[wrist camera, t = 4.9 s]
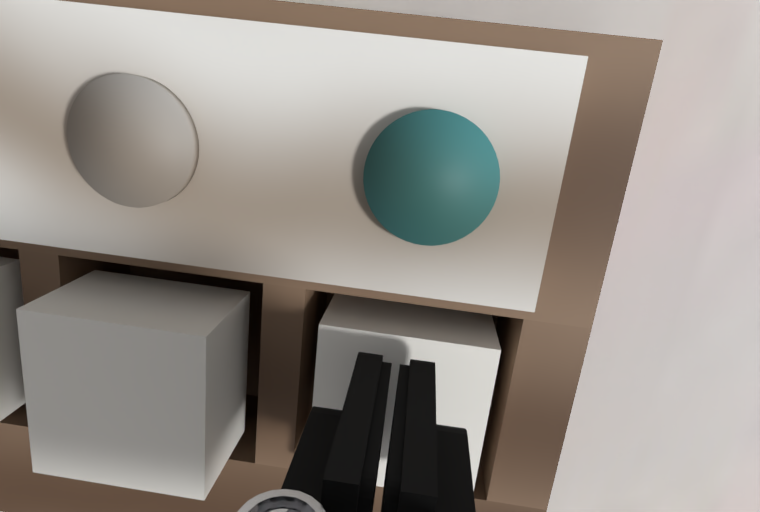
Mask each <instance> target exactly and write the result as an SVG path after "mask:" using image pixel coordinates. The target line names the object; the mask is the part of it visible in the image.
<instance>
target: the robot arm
mask: <svg viewBox="0 0 760 512" xmlns="http://www.w3.org/2000/svg"><path fill="white" fill-rule="evenodd" d="M391 367H392V363H388V362H383V355H379V354H372V353H364V352H358V355H357V359H356V363H355V366H354V370H353V373H352V377H351V380H350V384H349V388H348V391H347V395H346V398H345V402H344V406H343V409H342V410H337V409H330V408H323V407H316V406H313V407H312V409H311V411H310V414H309V416H308V419H307V422H306V424H305V427H304V429H303V432H302V435H301V437H300V440H299V443H298V445H297V448H296V451H295V453H294V456H293V458H292V461H291V464H290V466H289V469H288V472H287V474H286V477H285V480H284V482H283V485H282V488H281V489H279V490H271V491H267V492H264V493H261V494H258V495H257V496H255V497H253V498H252V499H250V500H248V501H247V502H246V503H245V504H244V505H243V506H242V507H241V508H240V509H239V510H238V512H373V505H374V498H375V490H376V483H377V476H378V468H379V461H380V453H381V445H382V437H383V429H384V421H385V414H386V406H387V398H388V390H389V382H390V375H391ZM381 512H476V509H475V500H474V491H473V481H472V472H471V463H470V454H469V444H468V435H467V430H466V429H465V428H459V427H452V426H445V425H438V424H436V373H435V362H428V361H421V360H414V359H410V364H409V365H402V364H400V367H399V374H398V382H397V389H396V397H395V404H394V412H393V419H392V427H391V434H390V442H389V449H388V457H387V464H386V472H385V480H384V488H383V496H382V505H381Z"/></svg>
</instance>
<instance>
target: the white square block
mask: <svg viewBox="0 0 760 512" xmlns="http://www.w3.org/2000/svg"><path fill="white" fill-rule="evenodd" d="M358 352H364V353H372V354H379V355H383V362H388V363H392V367H391V375H390V382H389V390H388V398H387V406H386V414H385V421H384V429H383V437H382V445H381V453H380V461H379V468H378V476H377V483H376V486H379V487H384V480H385V472H386V464H387V457H388V449H389V442H390V434H391V427H392V419H393V412H394V404H395V397H396V389H397V382H398V374H399V367H400V364H402V365H409V364H410V359H414V360H421V361H428V362H435V373H436V424H438V425H445V426H452V427H459V428H465V429H466V430H467V435H468V444H469V454H470V463H471V472H472V481H473V491H474V488H475V482H476V477H477V472H478V467H479V462H480V457H481V452H482V447H483V441H484V436H485V431H486V426H487V421H488V416H489V411H490V405H491V400H492V395H493V390H494V385H495V380H496V375H497V370H498V364H499V359H500V354H501V347H500V344H499V340H498V336H497V333H496V329H495V325H494V322H493V318H492V315H489V314H482V313H475V312H467V311H460V310H453V309H446V308H438V307H431V306H424V305H417V304H409V303H402V302H395V301H388V300H380V299H373V298H366V297H359V296H351V295H344V294H337V293H335V294H334V296H333V298H332V300H331V302H330V304H329V306H328V307H327V309H326V311H325V313H324V315H323V317H322V319H321V321H320V323H319V328H318V341H317V353H316V366H315V378H314V390H313V403H312V407H313V406H316V407H323V408H330V409H337V410H342V409H343V406H344V402H345V398H346V395H347V391H348V388H349V384H350V380H351V377H352V373H353V370H354V366H355V363H356V359H357V355H358Z"/></svg>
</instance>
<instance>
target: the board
mask: <svg viewBox="0 0 760 512" xmlns="http://www.w3.org/2000/svg"><path fill="white" fill-rule="evenodd" d="M662 42H663V40H655V39H646V38H636V37H626V36H616V35H607V34H597V33H587V32H577V31H568V30H558V29H548V28H538V27H529V26H519V25H509V24H500V23H490V22H480V21H470V20H461V19H451V18H441V17H431V16H422V15H412V14H402V13H392V12H383V11H373V10H363V9H353V8H344V7H334V6H324V5H315V4H305V3H295V2H285V1H276V0H0V257H5V258H13V259H19V260H20V271H21V281H22V291H23V301H24V305H25V304H27V303H29V302H31V301H33V300H35V299H37V298H40V297H42V296H44V295H46V294H48V293H50V292H52V291H54V290H56V289H58V288H60V287H62V286H64V285H66V284H68V283H70V282H72V281H74V280H76V279H78V278H80V277H82V276H84V275H86V274H88V273H90V272H92V271H94V270H99V271H106V272H113V273H120V274H128V275H135V276H142V277H149V278H156V279H164V280H171V281H178V282H185V283H192V284H200V285H207V286H214V287H221V288H228V289H235V290H243V291H250V308H249V334H248V361H247V387H246V414H245V431H244V433H243V434H242V436H241V438H240V440H239V441H238V443H237V445H236V447H235V448H234V450H233V452H232V453H231V455H230V457H229V459H228V460H227V462H226V464H225V466H224V467H223V469H222V471H221V473H220V474H219V476H218V478H217V480H216V481H215V483H214V485H213V487H212V488H211V490H210V492H209V493H208V495H207V497H206V499H205V500H204V501H203V500H197V499H191V498H185V497H179V496H173V495H167V494H161V493H155V492H149V491H143V490H137V489H131V488H125V487H119V486H113V485H107V484H101V483H95V482H89V481H83V480H76V479H70V478H64V477H58V476H52V475H46V474H40V473H34V472H33V469H32V459H31V449H30V440H29V430H28V420H27V411H26V403H24V404H23V405H22V406H20V407H19V408H18V409H16V410H15V411H14V412H12V413H11V414H10V415H8V416H7V417H5V418H4V419H3V420H1V421H0V511H3V512H238V510H239V509H240V508H241V507H242V506H243V505H244V504H245V503H246V502H247V501H248V500H250V499H252V498H253V497H255V496H257V495H258V494H261V493H264V492H267V491H271V490H279V489H281V488H282V485H283V482H284V480H285V477H286V474H287V472H288V469H289V466H290V464H291V461H292V458H293V456H294V453H295V451H296V448H297V445H298V443H299V440H300V437H301V435H302V432H303V429H304V427H305V424H306V422H307V419H308V416H309V414H310V411H311V409H312V403H313V390H314V378H315V366H316V353H317V341H318V328H319V323H320V321H321V319H322V317H323V315H324V313H325V311H326V309H327V307H328V306H329V304H330V302H331V300H332V298H333V296H334V294H335V293H337V294H344V295H351V296H359V297H366V298H373V299H380V300H388V301H395V302H402V303H409V304H417V305H424V306H431V307H438V308H446V309H453V310H460V311H467V312H475V313H482V314H489V315H492V318H493V322H494V325H495V329H496V333H497V336H498V340H499V344H500V347H501V354H500V359H499V364H498V370H497V375H496V380H495V385H494V390H493V395H492V400H491V405H490V411H489V416H488V421H487V426H486V431H485V436H484V441H483V447H482V452H481V457H480V462H479V467H478V472H477V477H476V482H475V488H474V500H475V509H476V512H546V510H547V506H548V502H549V498H550V494H551V490H552V486H553V482H554V478H555V474H556V470H557V466H558V462H559V458H560V454H561V450H562V446H563V442H564V437H565V433H566V429H567V425H568V421H569V417H570V413H571V409H572V405H573V401H574V397H575V393H576V389H577V385H578V381H579V377H580V373H581V369H582V365H583V361H584V357H585V353H586V349H587V345H588V341H589V336H590V332H591V328H592V324H593V320H594V316H595V312H596V308H597V304H598V300H599V296H600V292H601V288H602V284H603V280H604V276H605V272H606V268H607V264H608V260H609V256H610V252H611V248H612V244H613V240H614V235H615V231H616V227H617V223H618V219H619V215H620V211H621V207H622V203H623V199H624V195H625V191H626V187H627V183H628V179H629V175H630V171H631V167H632V163H633V159H634V155H635V151H636V147H637V143H638V138H639V134H640V130H641V126H642V122H643V118H644V114H645V110H646V106H647V102H648V98H649V94H650V90H651V86H652V82H653V78H654V74H655V70H656V66H657V62H658V58H659V54H660V50H661V46H662ZM383 488H384V487H379V486H376V490H375V498H374V505H373V512H381V505H382V496H383Z"/></svg>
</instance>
